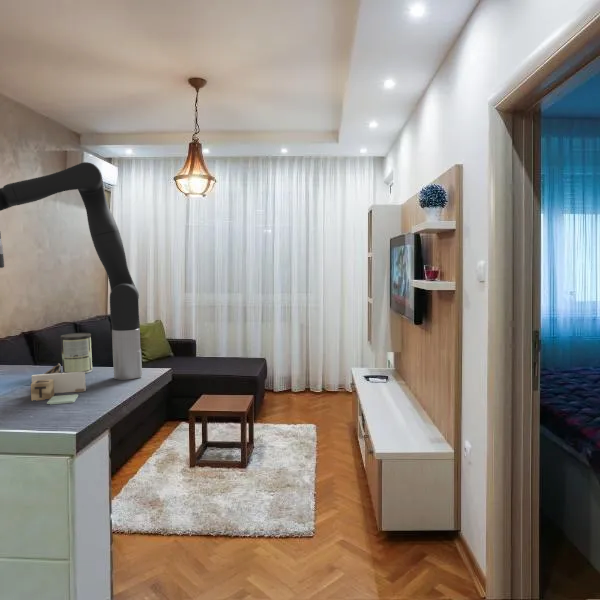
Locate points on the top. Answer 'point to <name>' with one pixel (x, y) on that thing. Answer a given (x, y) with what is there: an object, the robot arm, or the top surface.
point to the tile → (63, 399)
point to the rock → (54, 370)
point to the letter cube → (42, 389)
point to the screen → (65, 381)
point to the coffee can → (76, 352)
